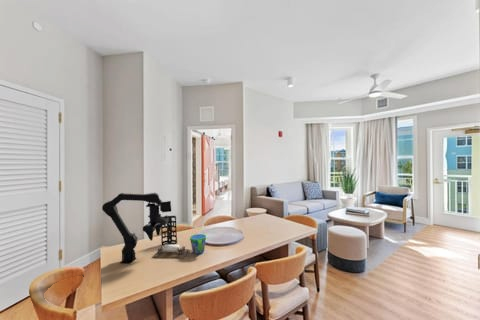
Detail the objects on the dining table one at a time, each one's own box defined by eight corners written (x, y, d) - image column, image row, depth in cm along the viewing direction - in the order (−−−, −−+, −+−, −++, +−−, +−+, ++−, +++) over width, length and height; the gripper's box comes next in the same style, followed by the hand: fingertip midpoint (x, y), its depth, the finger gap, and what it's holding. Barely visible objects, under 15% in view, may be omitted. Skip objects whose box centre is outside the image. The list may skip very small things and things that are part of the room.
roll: (162, 253, 137) (162, 246, 137) (165, 250, 142) (165, 243, 142) (177, 253, 137) (177, 246, 137) (179, 250, 141) (179, 243, 141)
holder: (161, 246, 151) (160, 217, 153) (160, 243, 158) (160, 216, 160) (177, 244, 155) (176, 216, 158) (176, 241, 162) (176, 214, 164)
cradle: (152, 257, 134) (152, 251, 134) (160, 250, 145) (160, 244, 145) (183, 258, 133) (183, 251, 133) (189, 250, 144) (189, 244, 144)
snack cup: (190, 248, 148) (189, 233, 148) (205, 246, 150) (205, 232, 150) (190, 258, 133) (190, 241, 133) (207, 255, 135) (207, 239, 135)
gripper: (160, 216, 126) (160, 243, 126) (172, 209, 145) (172, 232, 145) (141, 216, 127) (142, 243, 127) (156, 209, 145) (156, 232, 145)
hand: (154, 237), depth 136 cm, fingers open, 9 cm apart
